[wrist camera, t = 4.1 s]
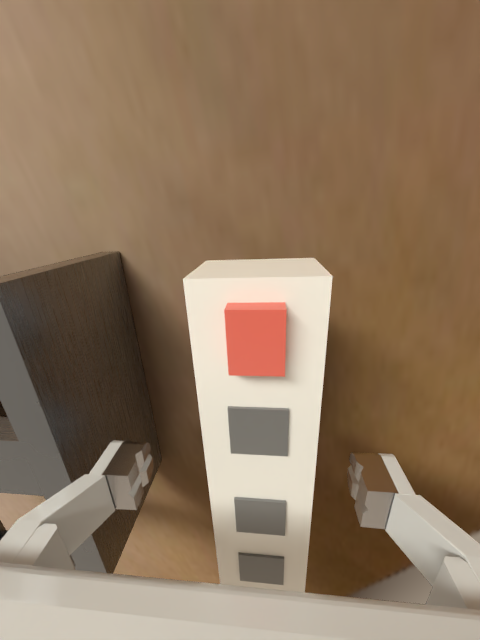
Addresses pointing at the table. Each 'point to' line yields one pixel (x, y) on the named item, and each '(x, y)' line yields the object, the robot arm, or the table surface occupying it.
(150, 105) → the table surface
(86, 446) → the grey stepped cutout plate
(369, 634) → the robot arm
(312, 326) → the power strip
